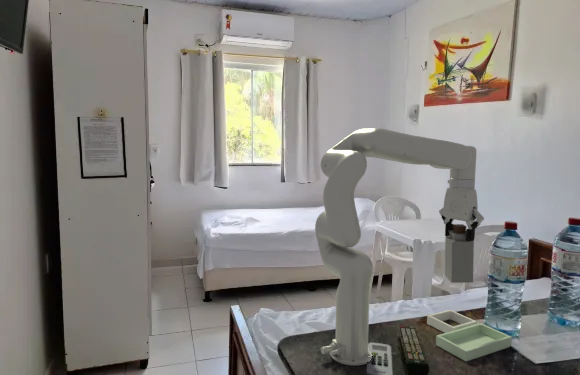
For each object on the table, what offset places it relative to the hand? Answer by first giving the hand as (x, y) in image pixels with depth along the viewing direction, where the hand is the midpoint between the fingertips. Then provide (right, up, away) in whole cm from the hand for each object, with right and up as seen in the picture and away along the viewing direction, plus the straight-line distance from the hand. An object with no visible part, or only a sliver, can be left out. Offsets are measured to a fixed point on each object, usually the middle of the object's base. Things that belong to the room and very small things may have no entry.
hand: (459, 238), depth 133 cm
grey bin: (0, -31, +6) cm, 32 cm away
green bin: (+2, -32, -7) cm, 33 cm away
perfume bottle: (+1, -14, +2) cm, 14 cm away
